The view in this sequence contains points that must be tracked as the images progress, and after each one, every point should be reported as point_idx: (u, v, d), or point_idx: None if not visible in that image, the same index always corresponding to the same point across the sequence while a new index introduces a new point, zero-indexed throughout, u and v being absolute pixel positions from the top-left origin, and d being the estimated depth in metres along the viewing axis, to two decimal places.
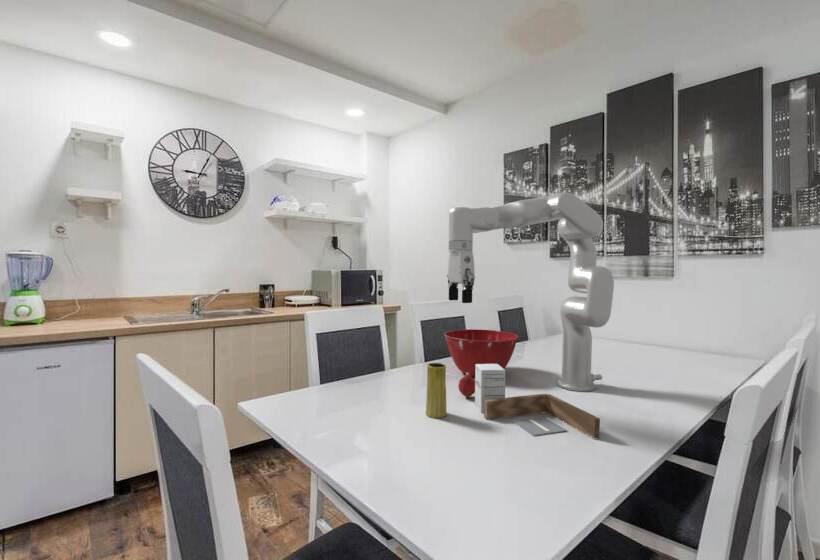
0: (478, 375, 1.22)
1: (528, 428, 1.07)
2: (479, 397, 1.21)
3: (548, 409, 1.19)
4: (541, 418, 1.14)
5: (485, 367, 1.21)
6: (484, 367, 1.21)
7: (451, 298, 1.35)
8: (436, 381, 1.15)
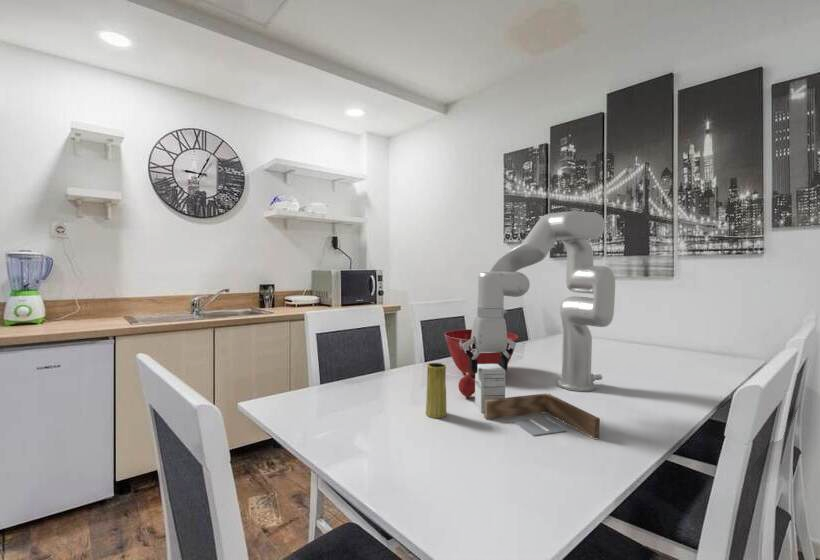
0: (478, 375, 1.22)
1: (528, 428, 1.07)
2: (479, 397, 1.21)
3: (548, 409, 1.19)
4: (541, 418, 1.14)
5: (485, 367, 1.21)
6: (484, 367, 1.21)
7: None
8: (436, 381, 1.15)
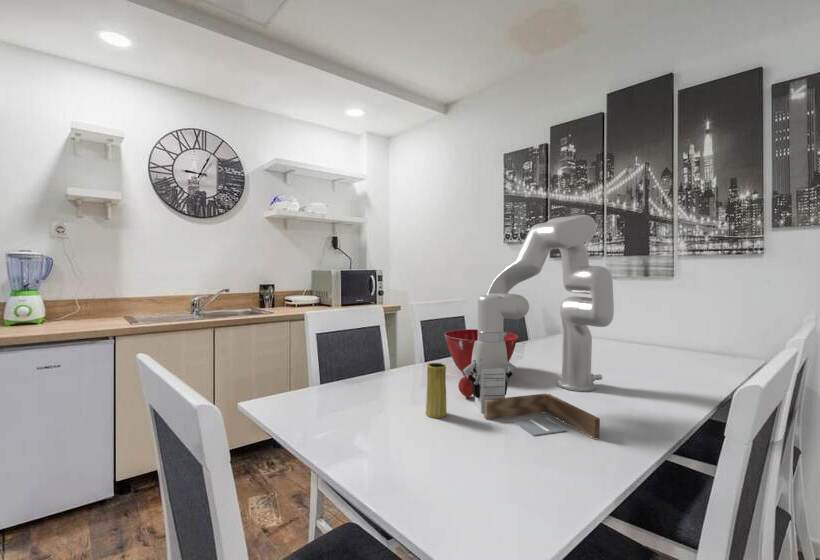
0: None
1: (528, 428, 1.07)
2: (479, 397, 1.21)
3: (548, 409, 1.19)
4: (541, 418, 1.14)
5: None
6: None
7: None
8: (436, 381, 1.15)
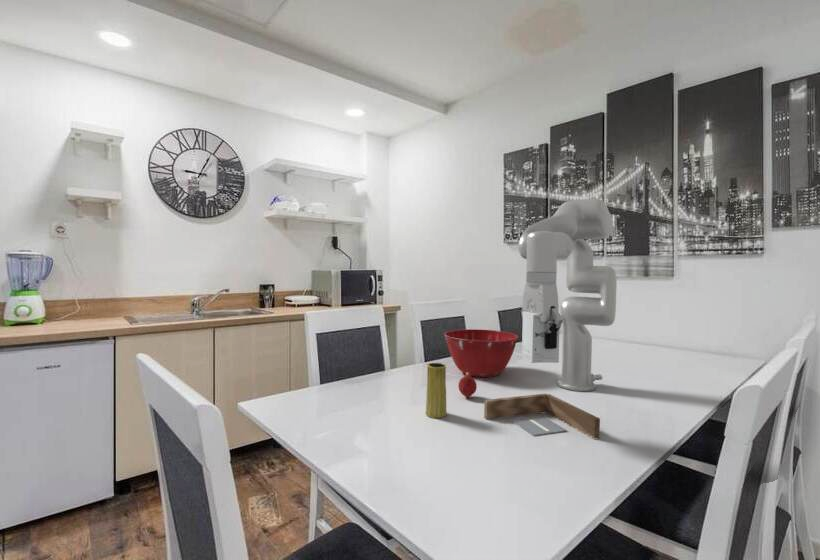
0: None
1: (528, 428, 1.07)
2: None
3: (548, 409, 1.19)
4: (541, 418, 1.14)
5: None
6: None
7: None
8: (436, 381, 1.15)
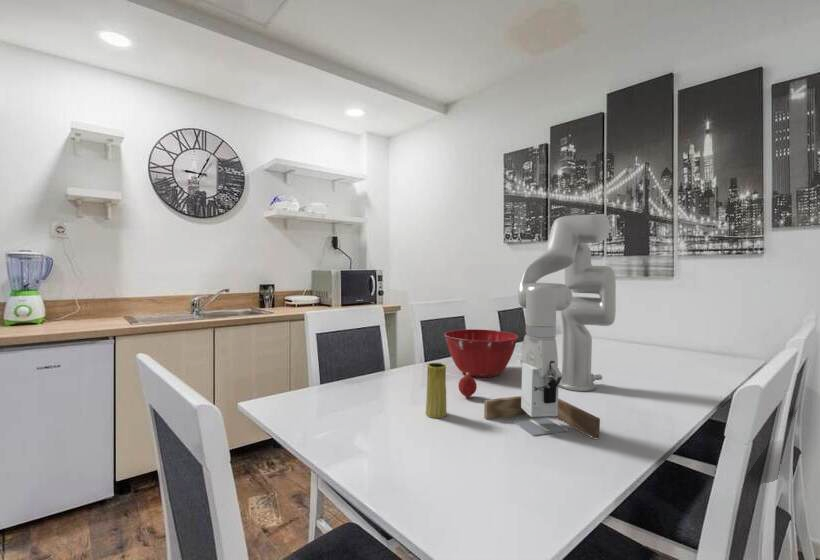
0: None
1: (528, 428, 1.07)
2: None
3: None
4: (541, 418, 1.14)
5: None
6: None
7: None
8: (436, 381, 1.15)
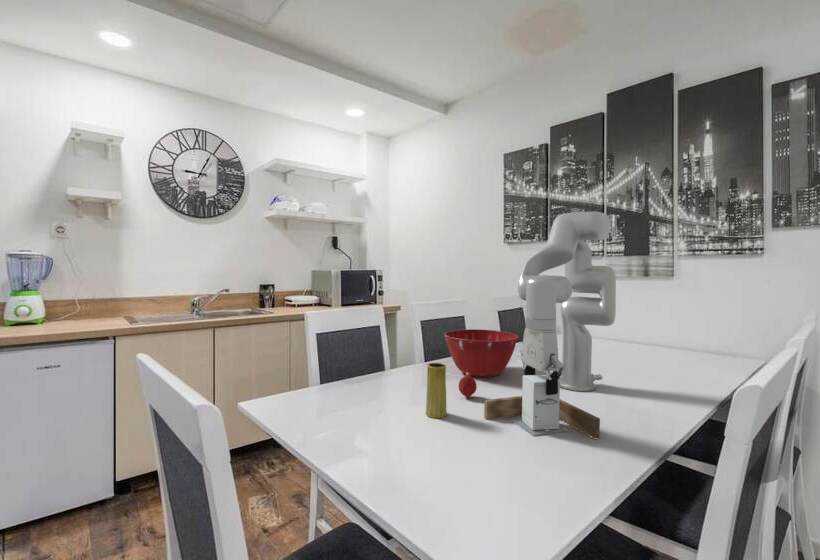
0: None
1: (528, 428, 1.07)
2: (553, 414, 1.06)
3: None
4: None
5: None
6: None
7: None
8: (436, 381, 1.15)
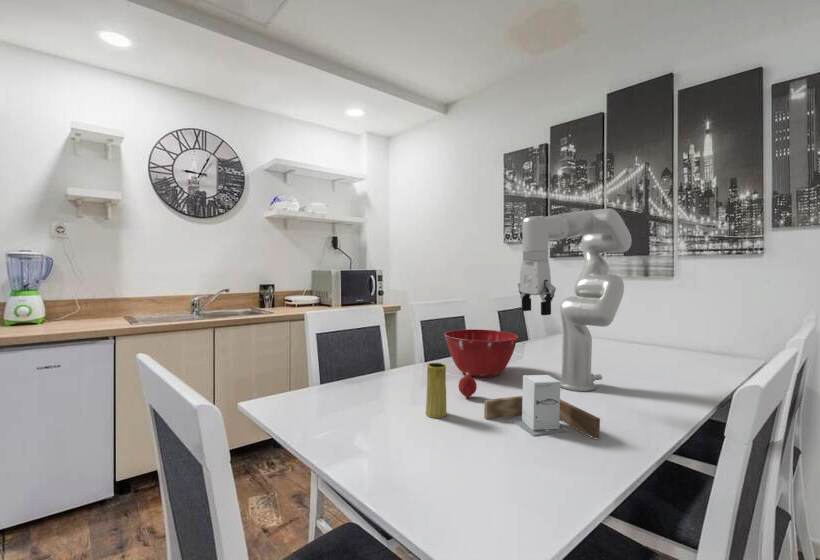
0: (550, 391, 1.06)
1: (528, 428, 1.07)
2: (553, 414, 1.06)
3: None
4: None
5: (547, 379, 1.08)
6: (547, 380, 1.07)
7: None
8: (436, 381, 1.15)
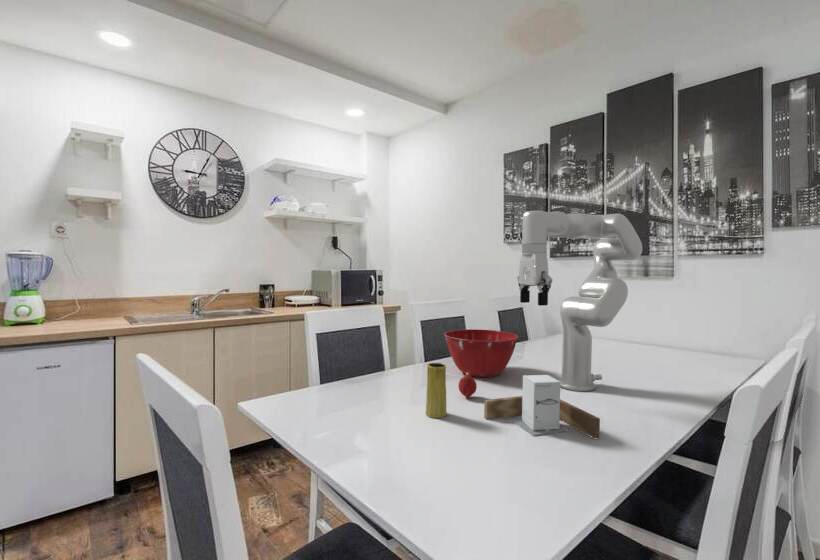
0: (550, 391, 1.06)
1: (528, 428, 1.07)
2: (553, 414, 1.06)
3: None
4: None
5: (547, 379, 1.08)
6: (547, 380, 1.07)
7: None
8: (436, 381, 1.15)
